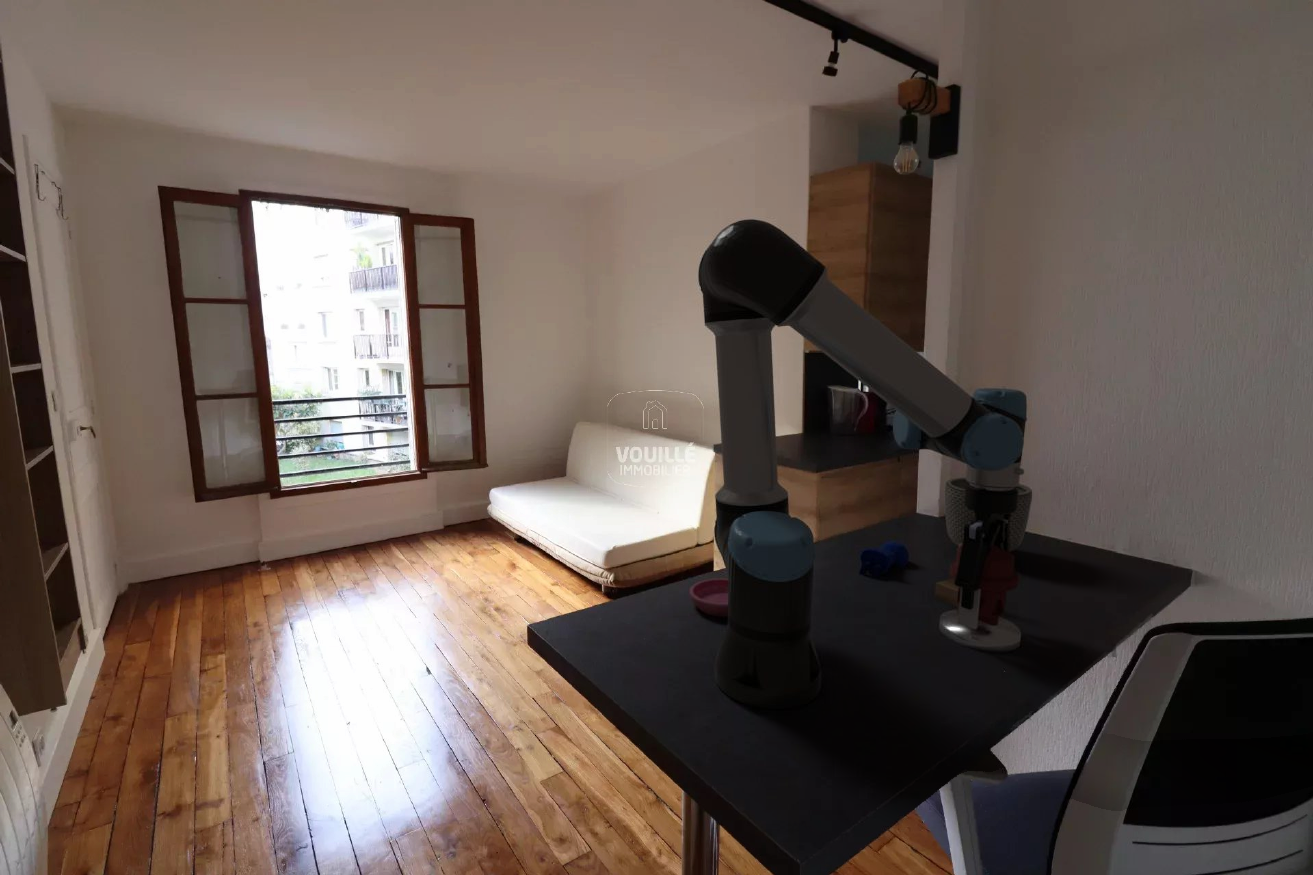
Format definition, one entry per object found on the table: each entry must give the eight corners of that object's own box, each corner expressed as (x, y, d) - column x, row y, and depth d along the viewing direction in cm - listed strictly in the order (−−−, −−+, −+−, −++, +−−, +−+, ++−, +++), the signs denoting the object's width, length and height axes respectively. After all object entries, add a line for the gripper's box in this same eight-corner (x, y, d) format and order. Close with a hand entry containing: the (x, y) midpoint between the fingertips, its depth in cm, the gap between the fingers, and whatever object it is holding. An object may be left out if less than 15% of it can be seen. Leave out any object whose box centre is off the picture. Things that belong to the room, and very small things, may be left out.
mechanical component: (978, 601, 108) (1028, 626, 99) (932, 608, 105) (980, 635, 95) (984, 534, 106) (1036, 553, 97) (938, 539, 103) (987, 559, 94)
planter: (1042, 567, 132) (1050, 495, 129) (962, 567, 132) (968, 495, 129) (999, 541, 149) (1005, 477, 146) (928, 541, 149) (932, 476, 146)
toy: (885, 584, 124) (914, 562, 135) (886, 556, 123) (916, 536, 134) (853, 576, 129) (884, 555, 140) (854, 548, 128) (885, 529, 138)
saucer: (679, 597, 117) (680, 581, 116) (738, 589, 121) (739, 573, 120) (705, 626, 105) (705, 608, 105) (769, 615, 109) (770, 599, 109)
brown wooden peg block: (963, 609, 111) (968, 552, 109) (934, 597, 116) (939, 542, 115) (984, 603, 114) (989, 546, 112) (955, 591, 119) (960, 537, 117)
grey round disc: (973, 655, 95) (974, 646, 95) (923, 621, 107) (924, 613, 106) (1038, 646, 98) (1039, 638, 98) (982, 614, 109) (983, 606, 109)
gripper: (991, 502, 88) (978, 646, 91) (1040, 478, 103) (1027, 603, 107) (938, 492, 93) (927, 629, 97) (992, 471, 108) (981, 590, 112)
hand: (979, 615), depth 102 cm, fingers closed on mechanical component, 10 cm apart
